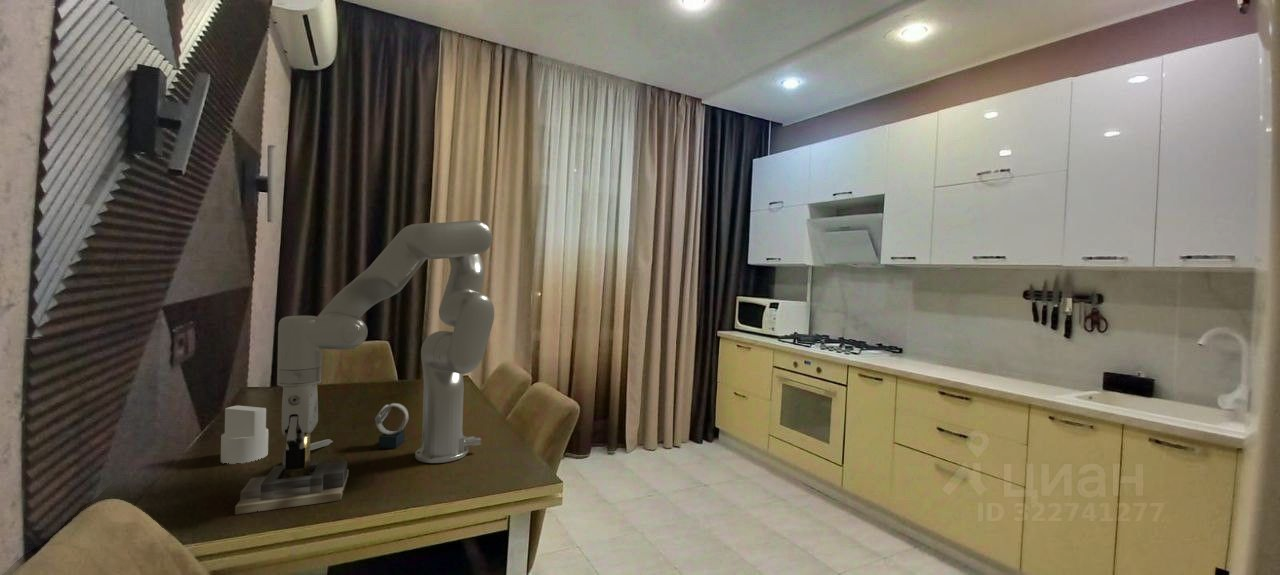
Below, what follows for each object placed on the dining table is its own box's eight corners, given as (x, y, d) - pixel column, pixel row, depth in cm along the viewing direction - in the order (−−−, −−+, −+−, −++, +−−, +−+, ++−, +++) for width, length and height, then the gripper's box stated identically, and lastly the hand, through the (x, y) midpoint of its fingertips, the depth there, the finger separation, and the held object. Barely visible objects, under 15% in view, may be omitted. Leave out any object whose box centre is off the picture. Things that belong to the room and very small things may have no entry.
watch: (380, 441, 134) (381, 401, 134) (410, 441, 134) (411, 401, 134) (370, 448, 128) (371, 406, 128) (402, 448, 129) (403, 407, 129)
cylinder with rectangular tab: (277, 452, 123) (278, 405, 123) (242, 465, 114) (243, 414, 114) (247, 449, 125) (248, 402, 125) (210, 462, 116) (211, 411, 116)
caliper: (287, 472, 112) (288, 445, 112) (282, 472, 112) (282, 445, 112) (333, 442, 132) (333, 419, 132) (328, 442, 132) (329, 419, 132)
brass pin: (310, 478, 104) (312, 432, 104) (307, 486, 100) (308, 437, 100) (288, 481, 102) (289, 433, 102) (283, 489, 99) (284, 440, 98)
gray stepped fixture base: (348, 475, 111) (348, 456, 111) (340, 500, 99) (341, 478, 99) (255, 487, 103) (255, 465, 103) (235, 514, 92) (235, 490, 92)
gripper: (314, 383, 95) (311, 477, 95) (327, 367, 110) (325, 448, 110) (266, 385, 92) (264, 482, 92) (287, 369, 107) (285, 452, 107)
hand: (298, 463), depth 101 cm, fingers open, 4 cm apart
